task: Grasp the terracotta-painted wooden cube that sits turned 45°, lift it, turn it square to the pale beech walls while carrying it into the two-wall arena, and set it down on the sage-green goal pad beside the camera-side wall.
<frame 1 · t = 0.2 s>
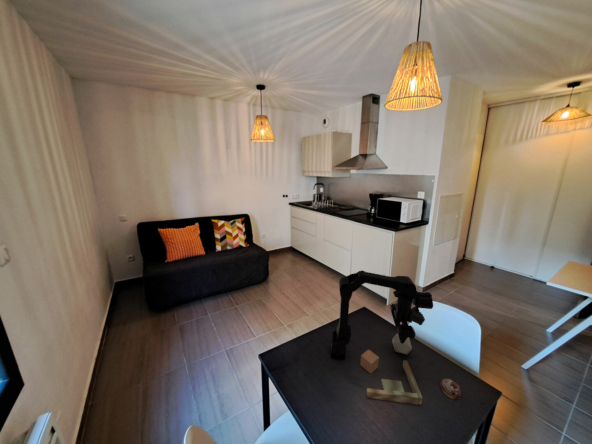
hand: (399, 335, 100), 14 cm above the table, fingers open, 9 cm apart
pastry: (450, 390, 90), on the table
cube: (369, 366, 101), on the table
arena: (388, 380, 94), on the table
die: (400, 350, 109), on the table
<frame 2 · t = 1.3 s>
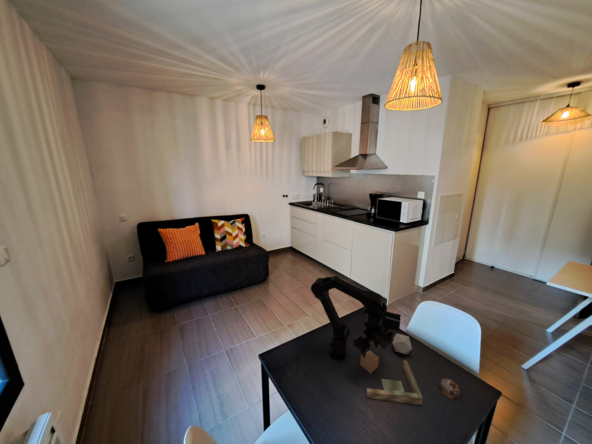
hand: (370, 351, 99), 8 cm above the table, fingers open, 9 cm apart
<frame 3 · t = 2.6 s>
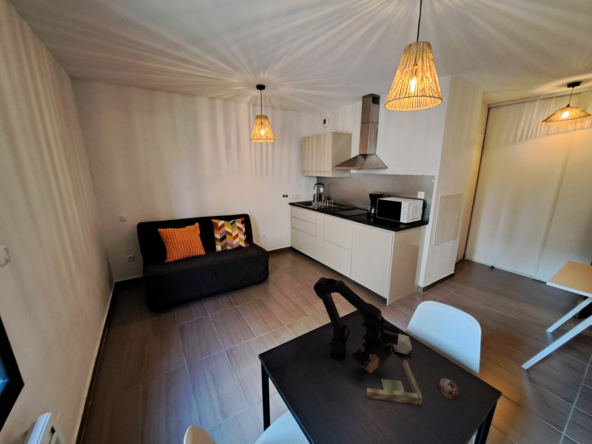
hand: (369, 364, 101), 1 cm above the table, fingers closed on cube, 5 cm apart
cube: (369, 366, 101), on the table, touching gripper
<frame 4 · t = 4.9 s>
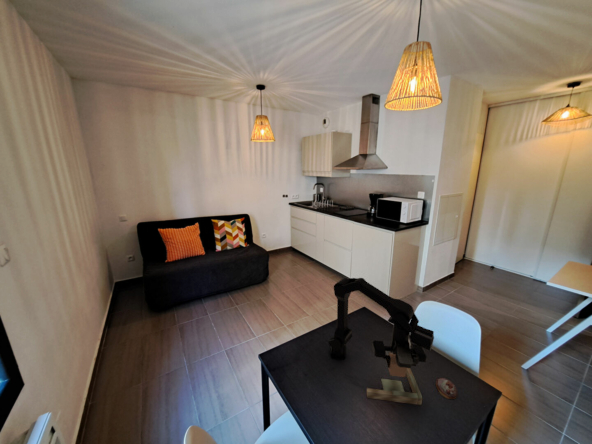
hand: (396, 367, 88), 11 cm above the table, fingers closed on cube, 5 cm apart
cube: (395, 369, 89), point 10 cm above the table, touching gripper
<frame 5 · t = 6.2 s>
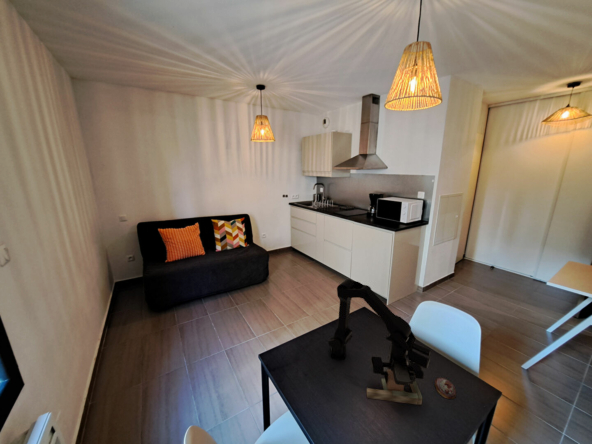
hand: (393, 383, 90), 3 cm above the table, fingers closed on cube, 5 cm apart
cube: (393, 385, 91), point 2 cm above the table, touching gripper
when the fingers open (2 cm above the table, at t = 7.2 s): cube stays where it is, resting on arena.
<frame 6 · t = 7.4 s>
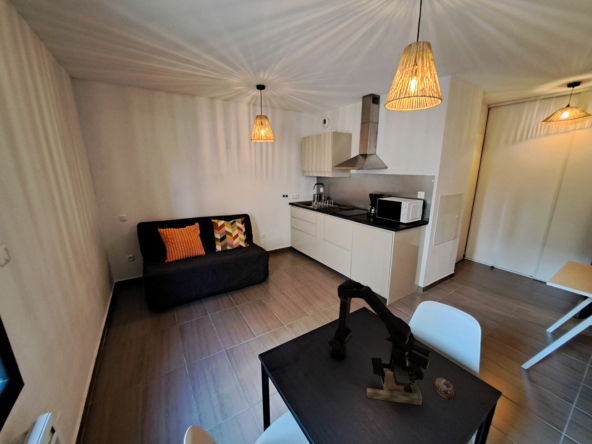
hand: (393, 384, 90), 2 cm above the table, fingers open, 8 cm apart
cube: (393, 388, 91), resting on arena
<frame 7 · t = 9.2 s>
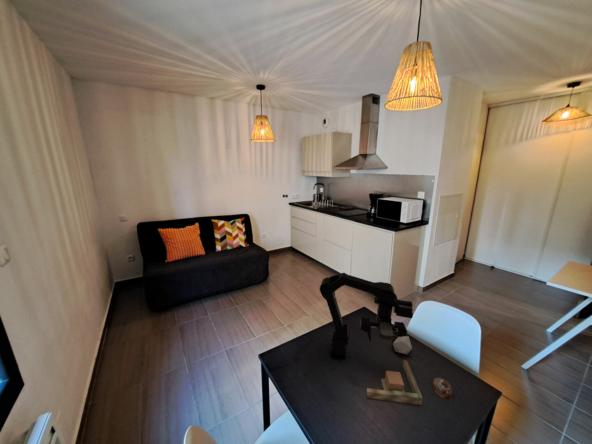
hand: (380, 342, 100), 12 cm above the table, fingers open, 9 cm apart
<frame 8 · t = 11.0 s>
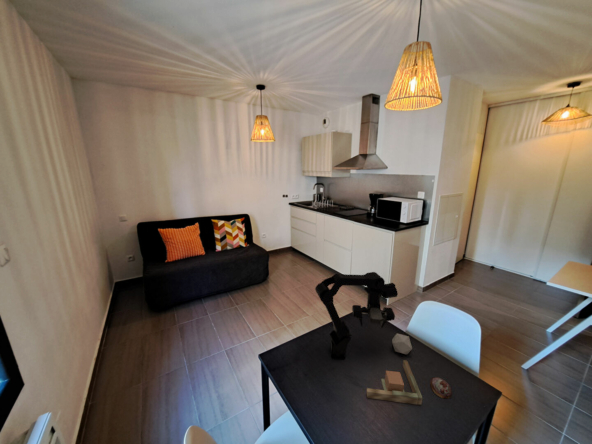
hand: (371, 327, 108), 12 cm above the table, fingers open, 9 cm apart
at the end: cube inside the target area (0.0 cm from its centre), resting on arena; cube tilted 0°; the gripper is holding nothing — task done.
